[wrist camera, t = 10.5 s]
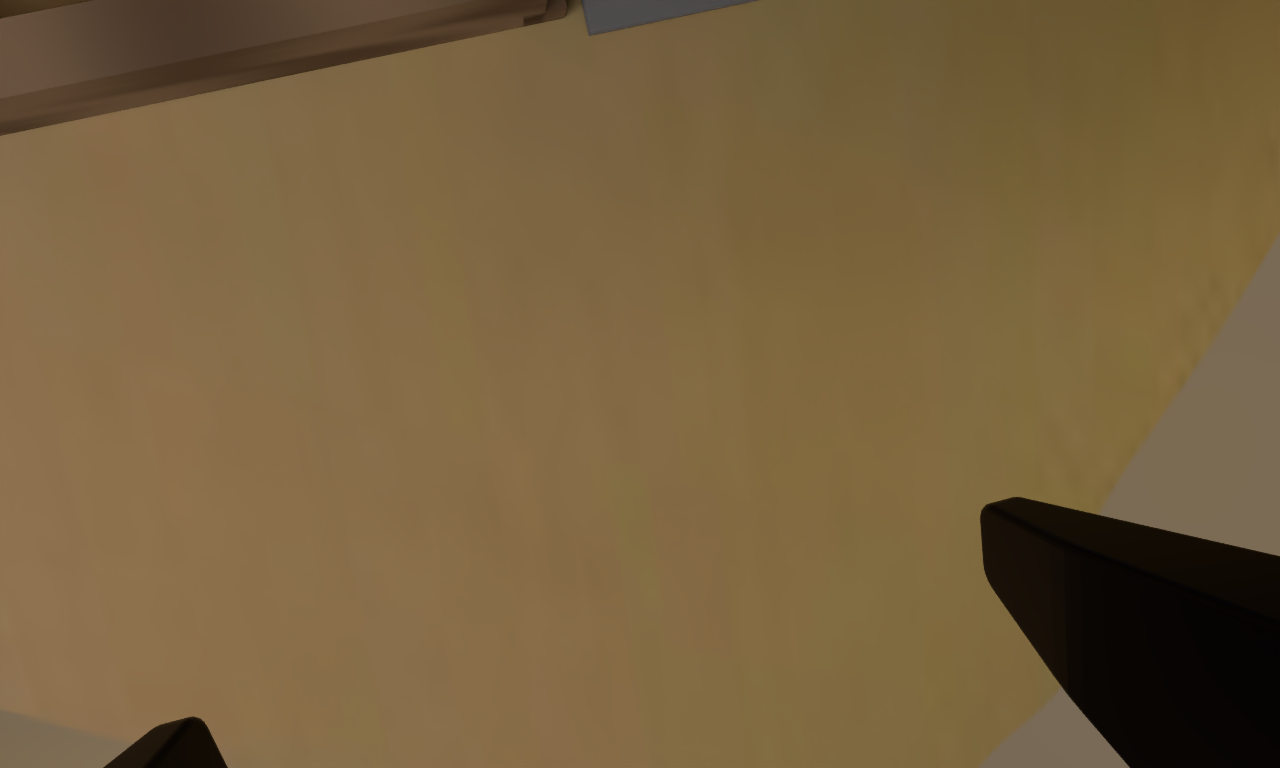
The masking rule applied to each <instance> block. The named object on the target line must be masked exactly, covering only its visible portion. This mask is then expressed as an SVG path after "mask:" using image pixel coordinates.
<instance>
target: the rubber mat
mask: <svg viewBox="0 0 1280 768" xmlns="http://www.w3.org/2000/svg"><path fill="white" fill-rule="evenodd" d="M581 1H582V5H583V10H584V15H585V20H586V24H587V29H588V34H589V36H591V35H596V34H601V33H605V32H610V31H615V30H619V29H624V28H629V27H634V26H638V25H643V24H648V23H653V22H657V21H662V20H667V19H672V18H676V17H681V16H686V15H691V14H695V13H700V12H705V11H710V10H714V9H719V8H724V7H729V6H733V5H738V4H743V3H748V2H752V1H757V0H581Z"/></svg>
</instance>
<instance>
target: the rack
mask: <svg viewBox="0 0 1280 768" xmlns="http://www.w3.org/2000/svg"><path fill="white" fill-rule="evenodd" d="M566 10H567V3H566V0H92V1H87V2H82V3H77V4H72V5H67V6H62V7H56V8H51V9H46V10H41V11H36V12H31V13H26V14H21V15H16V16H11V17H6V18H1V19H0V136H1V135H6V134H10V133H15V132H20V131H25V130H30V129H34V128H39V127H44V126H49V125H54V124H58V123H63V122H68V121H73V120H78V119H82V118H87V117H92V116H97V115H102V114H106V113H111V112H116V111H121V110H125V109H130V108H135V107H140V106H145V105H149V104H154V103H159V102H164V101H169V100H173V99H178V98H183V97H188V96H193V95H197V94H202V93H207V92H212V91H217V90H221V89H226V88H231V87H236V86H241V85H245V84H250V83H255V82H260V81H265V80H269V79H274V78H279V77H284V76H289V75H293V74H298V73H303V72H308V71H313V70H317V69H322V68H327V67H332V66H336V65H341V64H346V63H351V62H356V61H360V60H365V59H370V58H375V57H380V56H384V55H389V54H394V53H399V52H404V51H408V50H413V49H418V48H423V47H428V46H432V45H437V44H442V43H447V42H452V41H456V40H461V39H466V38H471V37H476V36H480V35H485V34H490V33H495V32H500V31H504V30H509V29H514V28H519V27H524V26H528V25H533V24H538V23H543V22H547V21H552V20H557V19H562V18H564V17H565V14H566Z"/></svg>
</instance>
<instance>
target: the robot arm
mask: <svg viewBox="0 0 1280 768" xmlns="http://www.w3.org/2000/svg"><path fill="white" fill-rule="evenodd" d="M980 523H981V538H982V552H983V565H984V570H985V574H986V577H987V579H988V581H989V583H990V585H991V587H992V589H993V590H994V591H995V593H996V594H997V596H998V597H999V599H1000V600H1001V601H1002V603H1003V604H1004V606H1005V607H1006V609H1007V610H1008V611H1009V613H1010V614H1011V616H1012V617H1013V619H1014V620H1015V621H1016V623H1017V624H1018V626H1019V627H1020V629H1021V630H1022V631H1023V633H1024V634H1025V636H1026V637H1027V639H1028V640H1029V641H1030V643H1031V644H1032V646H1033V647H1034V649H1035V650H1036V651H1037V653H1038V654H1039V656H1040V657H1041V658H1042V660H1043V661H1044V663H1045V664H1046V666H1047V667H1048V668H1049V670H1050V671H1051V673H1052V674H1053V676H1054V677H1055V678H1056V680H1057V681H1058V682H1059V684H1060V685H1061V686H1062V688H1063V689H1064V690H1065V692H1066V693H1067V694H1068V696H1069V697H1070V698H1071V699H1072V701H1073V702H1074V703H1075V704H1076V705H1077V707H1078V708H1079V709H1080V710H1081V711H1082V713H1083V714H1084V715H1085V716H1086V717H1087V718H1088V720H1089V721H1090V722H1091V723H1092V724H1093V725H1094V727H1095V728H1096V729H1097V730H1098V731H1099V732H1100V733H1101V735H1102V736H1103V737H1104V738H1105V739H1106V740H1107V741H1108V743H1109V744H1110V745H1111V746H1112V747H1113V748H1114V750H1115V751H1116V752H1117V753H1118V754H1119V755H1120V757H1121V758H1122V759H1123V760H1124V761H1125V762H1126V763H1127V765H1128V766H1129V767H1130V768H1280V556H1276V555H1272V554H1268V553H1263V552H1259V551H1254V550H1250V549H1246V548H1241V547H1237V546H1232V545H1228V544H1224V543H1219V542H1215V541H1210V540H1206V539H1202V538H1197V537H1193V536H1188V535H1184V534H1180V533H1175V532H1171V531H1166V530H1162V529H1158V528H1153V527H1149V526H1144V525H1140V524H1135V523H1131V522H1127V521H1123V520H1118V519H1113V518H1109V517H1105V516H1101V515H1096V514H1092V513H1088V512H1083V511H1079V510H1074V509H1070V508H1066V507H1061V506H1057V505H1052V504H1048V503H1044V502H1039V501H1035V500H1030V499H1026V498H1022V497H1012V498H1008V499H1004V500H1001V501H997V502H993V503H990V504H987V505H985V507H984V508H983V509H982V511H981V515H980ZM103 768H228V767H227V765H226V763H225V761H224V759H223V757H222V755H221V753H220V751H219V749H218V747H217V745H216V743H215V741H214V739H213V737H212V735H211V733H210V731H209V729H208V727H207V725H206V724H205V722H204V721H202V720H201V719H200V718H197V717H188V718H184V719H180V720H176V721H173V722H169V723H165V724H161V725H159V726H157V727H155V728H153V729H152V730H150V731H149V732H148V733H147V734H145V735H144V736H143V737H141V738H140V739H139V740H138V741H136V742H135V743H134V744H133V745H131V746H130V747H129V748H127V750H125V751H124V752H122V753H121V754H120V755H119V756H117V757H116V758H115V759H114V760H112V761H111V762H110V763H108V764H107V765H106V766H105V767H103Z"/></svg>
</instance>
